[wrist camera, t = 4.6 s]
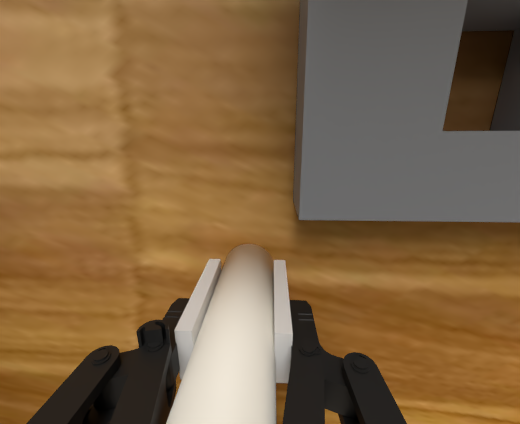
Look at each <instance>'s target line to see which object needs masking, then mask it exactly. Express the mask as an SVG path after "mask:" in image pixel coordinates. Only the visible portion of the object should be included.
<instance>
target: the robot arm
mask: <svg viewBox="0 0 520 424" xmlns="http://www.w3.org/2000/svg"><path fill="white" fill-rule="evenodd" d="M220 274H221V259H209V261H208V263H207V265H206V267H205V269H204V271H203V273H202V275H201V277H200V279H199V281H198V283H197V285H196V287H195V289H194V291H193V293H192V295H191V297H190V299H187V298H179V299H177V300H176V301H175V302H174V303H172V305H171V306H170V308H169V310H168V312H167V313H166V315H165V317H164V318H163V320H153V321H149V322H147V323H145V324H143V325H142V326H141V327H139V329H138V330H137V337H138V343H139V348H138V349H135V350H131V351H127V352H122V353H119V349H118V348H117V347H115V346H112V345H111V346H104V347H101V348H98V349H96V350H95V351H93V352H91V353H90V354H89V355H88V356H87V357H86V358H85V359H84V360H83V361H82V362H81V364H80V365H79V366H78V367H77V368H76V369H75V370H74V371H73V372H72V374H71V375H70V376H69V377H68V378H67V379H66V380H65V381H64V382H63V384H62V385H61V386H60V387H59V388H58V389H57V390H56V391H55V393H54V394H53V395H52V396H51V397H50V398H49V399H48V400H47V401H46V403H45V404H44V405H43V406H42V407H41V408H40V409H39V410H38V411H37V413H36V414H35V415H34V416H33V417H32V418H31V419H30V420H29V421H28V423H27V424H166V422H167V419H168V417H169V414H170V411H171V408H172V406H173V403H174V398H175V393H176V377H177V375H178V372H179V373H180V379H182V378H183V375H184V373H185V370H186V367H187V364H188V362H189V359H190V356H191V353H192V351H193V348H194V345H195V342H196V340H197V337H198V334H199V331H200V329H201V326H202V323H203V320H204V318H205V315H206V312H207V309H208V307H209V304H210V301H211V298H212V296H213V293H214V290H215V287H216V285H217V282H218V279H219V277H220ZM274 352H275V362H276V383H288V387H287V395H286V402H285V410H284V417H283V424H325V409H328V410H330V411H333V412H335V413H338V415H339V418H340V422H341V424H407V423H406V421H405V419H404V417H403V415H402V414H401V412H400V410H399V408H398V406H397V404H396V402H395V400H394V398H393V396H392V394H391V392H390V390H389V388H388V387H387V385H386V383H385V381H384V379H383V377H382V375H381V373H380V371H379V369H378V367H377V365H376V364H375V363H374V361H373V360H372V359H370V358H369V357H368V356H366V355H364V354H361V353H355V352H354V353H349V354H347V355H346V356H345V357H344V359H343V358H340V357H336V356H334V355H331V354H329V353H328V352H326V351H325V350H324V349H323V348H322V347H321V345H320V343H319V341H318V336H317V332H316V327H315V323H314V318H313V314H312V309H311V306H310V305H309V304H308V303H307V301H299V300H289V292H288V283H287V273H286V263H285V260H274Z"/></svg>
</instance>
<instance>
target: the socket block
mask: <svg viewBox="0 0 520 424" xmlns="http://www.w3.org/2000/svg"><path fill="white" fill-rule="evenodd" d="M508 30H514V34H513V38H512V42H511V46H510V50H509V54H508V59H507V63H506V67H505V71H504V75H503V79H502V83H501V87H500V91H499V95H498V99H497V103H496V108H495V112H494V116H493V120H492V124H491V128H490V131H443V126H444V120H445V115H446V110H447V105H448V100H449V95H450V89H451V84H452V79H453V74H454V69H455V64H456V58H457V53H458V48H459V43H460V38H461V33H462V31H508ZM293 202H294V205H295V208H296V212H297V215H298V218H299V220H346V221H442V222H520V0H300V15H299V44H298V73H297V102H296V131H295V160H294V189H293Z"/></svg>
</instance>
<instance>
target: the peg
mask: <svg viewBox="0 0 520 424" xmlns="http://www.w3.org/2000/svg"><path fill="white" fill-rule="evenodd" d="M166 424H276V362H275V352H274V262H273V259H272V257H271V255H270V254H269V253H268V252H267V251H266V250H265V249H264V248H262V247H260V246H258V245H255V244H242V245H239V246H237V247H235V248H234V249H232V250H231V251H230V252H229V254H228V255H227V257H226V260H225V263H224V266H223V268H222V271H221V274H220V277H219V279H218V282H217V285H216V287H215V290H214V293H213V296H212V298H211V301H210V304H209V307H208V309H207V312H206V315H205V318H204V320H203V323H202V326H201V329H200V331H199V334H198V337H197V340H196V342H195V345H194V348H193V351H192V353H191V356H190V359H189V362H188V364H187V367H186V370H185V373H184V375H183V378H182V381H181V384H180V386H179V389H178V392H177V395H176V397H175V400H174V403H173V406H172V408H171V411H170V414H169V417H168V419H167V422H166Z"/></svg>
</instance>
